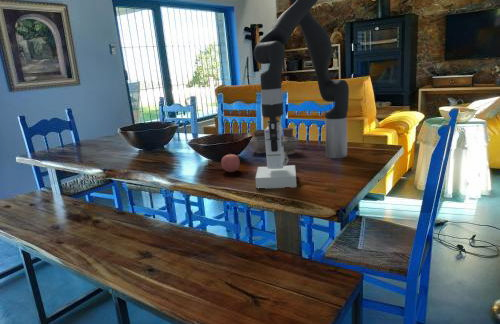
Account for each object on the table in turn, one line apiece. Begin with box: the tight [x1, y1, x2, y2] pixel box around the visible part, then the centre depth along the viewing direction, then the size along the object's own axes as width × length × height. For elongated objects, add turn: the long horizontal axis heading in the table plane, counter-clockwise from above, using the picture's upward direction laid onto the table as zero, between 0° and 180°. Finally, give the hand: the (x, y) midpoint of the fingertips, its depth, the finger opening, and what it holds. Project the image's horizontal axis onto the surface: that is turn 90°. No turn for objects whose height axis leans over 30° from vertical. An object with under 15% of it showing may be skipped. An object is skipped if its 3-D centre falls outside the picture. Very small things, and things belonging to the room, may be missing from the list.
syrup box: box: [263, 125, 285, 169], centre depth 132 cm, size 6×6×14 cm
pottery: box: [249, 127, 300, 155], centre depth 178 cm, size 11×25×12 cm, turn 65°
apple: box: [220, 153, 240, 173], centre depth 151 cm, size 7×7×8 cm
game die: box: [284, 150, 292, 166], centre depth 150 cm, size 9×8×10 cm
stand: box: [255, 164, 297, 190], centre depth 134 cm, size 14×14×4 cm
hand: (274, 148), depth 132 cm, fingers closed on syrup box, 6 cm apart
